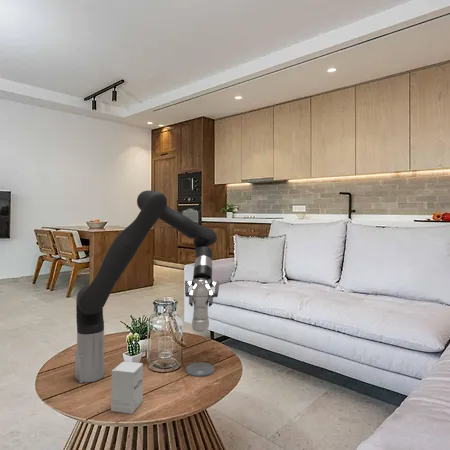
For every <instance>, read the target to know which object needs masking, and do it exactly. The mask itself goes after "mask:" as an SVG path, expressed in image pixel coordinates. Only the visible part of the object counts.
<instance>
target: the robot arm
mask: <svg viewBox="0 0 450 450" xmlns="http://www.w3.org/2000/svg"><path fill="white" fill-rule="evenodd" d="M136 198H137V199H136V205H137V207H138V208H139V210H140V212H139V213H138V214H137V216H136V218H135V219H134V220H133V221H132V222H131V223H130V224H129V225H128V226H127V227H125V228H124V229H123V230H122V231H121V232H120V233H118V235H116V237H115V239H114V240H113V242H112V243H111V245H110V246H109V248H108V250H107V251H106V254H105V256H104V258H103V260H102V263H101V265H100V268H99V270H98V272H97V274H96V276H95V277H94V278H93V280H92V281H91V283H90V284H89V285H85V286H84V287H81V289H79V291H78V292H77V294H76V300H75V301H76V302H75V303H76V305H75V306H76V309H75V310H76V312H75V313H76V319H75V320H76V351H74V378H75V379H76V380H77V381H78V382H79V384H83V382H84V383H94V382H97V381H99V380H101V379H102V378H104V375H105V373H104V372H105V365H104V364H105V356H104V355H105V321H104V307H105V304H106V303H107V300H108V299H109V297H110V294H111V293H112V291H113V289H114V287H115V285H116V283H117V282H118V281H119V279H120V277H121V276H122V274H124V272H125V271H126V269H127V267H128V266H129V264H130V263H131V261H132V260H133V258H134V257H135V255H136V254H137V252H138V250H139V248H140V247H141V245H142V243H143V242H144V241H145V239H146V237H147V236H148V234H149V233H150V231H151V229H152V228H153V227H154V225H156V223H157V222H158V220H161V221H163V222H164V223H166V224H168V226H170V227H172V228H174V229H175V230H176V231H177V232H179V233H181V234H182V235H183V236H185V237H187V238H189V239H193V246H194V250H195V259H194V260H195V261H194V265H193V274H192V275H193V276H192V280H191V281H188V280H184V294H185V297H188V304H189V305H190V307H194V302H193V290H194V288H195V287H196V286H197V284H196V279H199V278H203V279H206V284H205V285H206V287H207V288H208V290H209V293H210V294H209V300H208V308H210V307H211V306H212V305H213V304H214V303H213V301H214V298H218V295H219V287H220V281H219V280H216V282H215V281H213V250H212V248H211V246H212V245H214V244H215V243H216V242H217V241H218V235H217V233H216V232H215V231H214V230H213V229H211V228H210V227H207V226H204V225H203V224H202V225H201V224H198V223H197V222H195V221H193V220H192V219H191V218H189V216H186V215H185V214H183V213H180V212H179V211H177V210H175V209H174V208H172V207H170V206H168V199H167V197H166V195H165V194H164V193H163V192H160V191H155V190H143V191H141V192H140V193H139V194H138V195H137V197H136ZM191 286H192V289H191V290H190V292H189V288H190V287H191ZM212 286H213V288H214V291H212V289H211V287H212Z"/></svg>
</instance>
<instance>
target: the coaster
mask: <svg viewBox="0 0 450 450" xmlns="http://www.w3.org/2000/svg"><path fill="white" fill-rule="evenodd" d="M185 367H186V368H185V372H186V374H187V375H188V376H192V377H197V378H199V377H202V378H203V377H207V376H210V375H212V374H214V372H215V366H214V365H213V364H211V363H210V362H209V363H208V362H203V361H202V362H200V361H199V362H193V363H190V364H188V365H187V366H185Z"/></svg>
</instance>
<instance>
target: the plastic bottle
mask: <svg viewBox="0 0 450 450" xmlns="http://www.w3.org/2000/svg"><path fill="white" fill-rule="evenodd" d="M196 284H197V286H196V287H195V288H194V290H193V314H192V319H191V320H192V321H191V328H192V330H193V331H195V332H199V333H201V332H202V333H203V332H206V331H207V330H208V329H209V327H210V321H209V320H210V319H209V312H208V310H209V294H210V293H209V290H208V288H207V287H206V285H205V284H206V279H203V278H199V279H196Z"/></svg>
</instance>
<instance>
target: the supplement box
mask: <svg viewBox="0 0 450 450" xmlns="http://www.w3.org/2000/svg"><path fill="white" fill-rule="evenodd" d="M110 390H111V395H110V397H111V398H110V401H111V402H110V404H111V405H110V411H111V412H116V413H122V414H123V413H124V414H130V415H133V414H134V412H135V411H136V410H137V409H138V407H140V406H141V404H142V403H143V399H144V397H143V395H144V394H143V393H144V391H143V390H144V363H142V362H133V361H132V362H131V361H122V362H120V363H119V364H118V365H117V366H115V367H114V368H113V369H112V370H111V388H110Z"/></svg>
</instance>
